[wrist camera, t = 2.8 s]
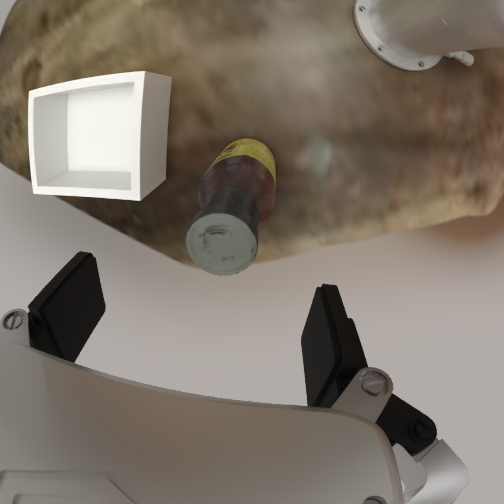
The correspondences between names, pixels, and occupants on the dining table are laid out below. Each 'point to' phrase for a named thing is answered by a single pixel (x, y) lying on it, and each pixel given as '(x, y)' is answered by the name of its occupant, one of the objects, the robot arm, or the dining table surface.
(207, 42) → the dining table surface
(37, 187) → the storage box
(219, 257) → the sauce bottle
